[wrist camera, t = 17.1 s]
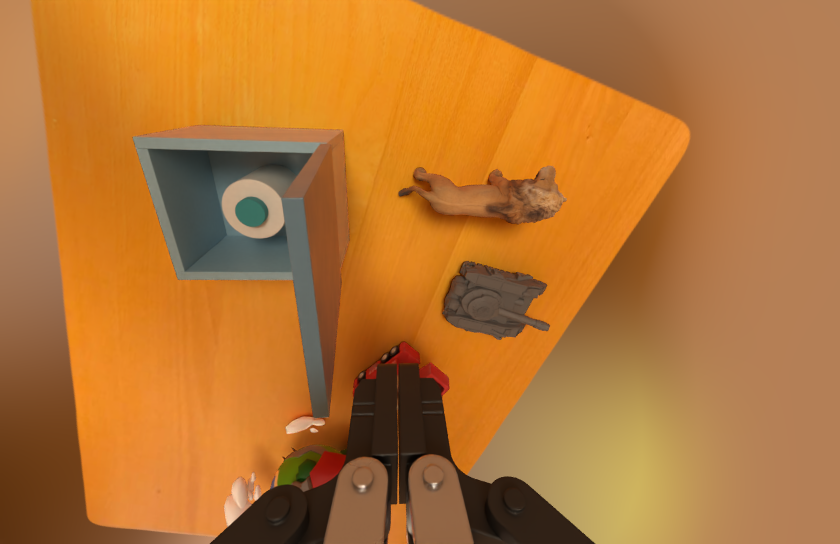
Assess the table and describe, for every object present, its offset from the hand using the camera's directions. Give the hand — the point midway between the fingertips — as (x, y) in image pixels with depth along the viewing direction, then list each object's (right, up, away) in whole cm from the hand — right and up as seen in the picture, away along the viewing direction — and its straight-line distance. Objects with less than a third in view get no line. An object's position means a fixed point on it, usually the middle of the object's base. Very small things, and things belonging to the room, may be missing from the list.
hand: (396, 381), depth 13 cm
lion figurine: (+6, +14, +25) cm, 29 cm away
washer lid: (-6, +5, +9) cm, 12 cm away
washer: (-14, +13, +23) cm, 30 cm away
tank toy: (+10, +1, +31) cm, 33 cm away
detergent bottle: (-14, +12, +23) cm, 29 cm away
